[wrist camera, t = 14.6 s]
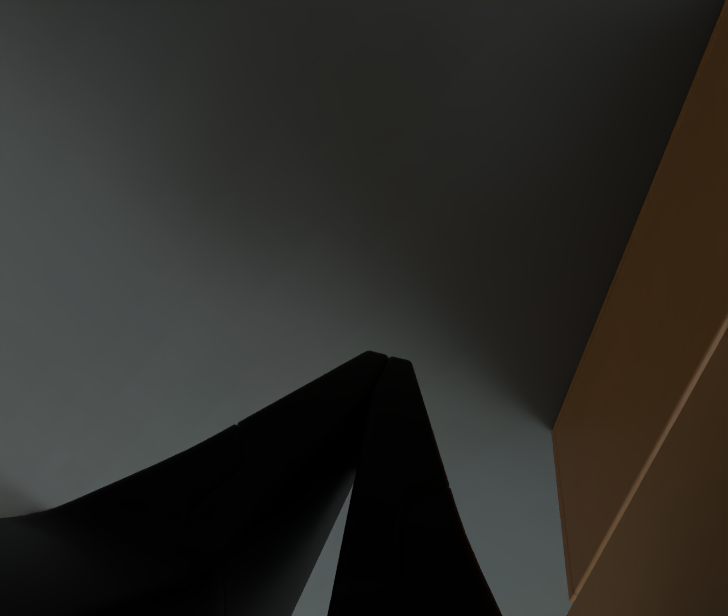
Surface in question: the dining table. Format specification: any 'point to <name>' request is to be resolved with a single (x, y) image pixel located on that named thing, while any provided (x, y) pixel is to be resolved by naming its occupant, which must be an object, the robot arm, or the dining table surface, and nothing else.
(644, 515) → the flap
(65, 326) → the dining table surface
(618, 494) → the cardboard box
